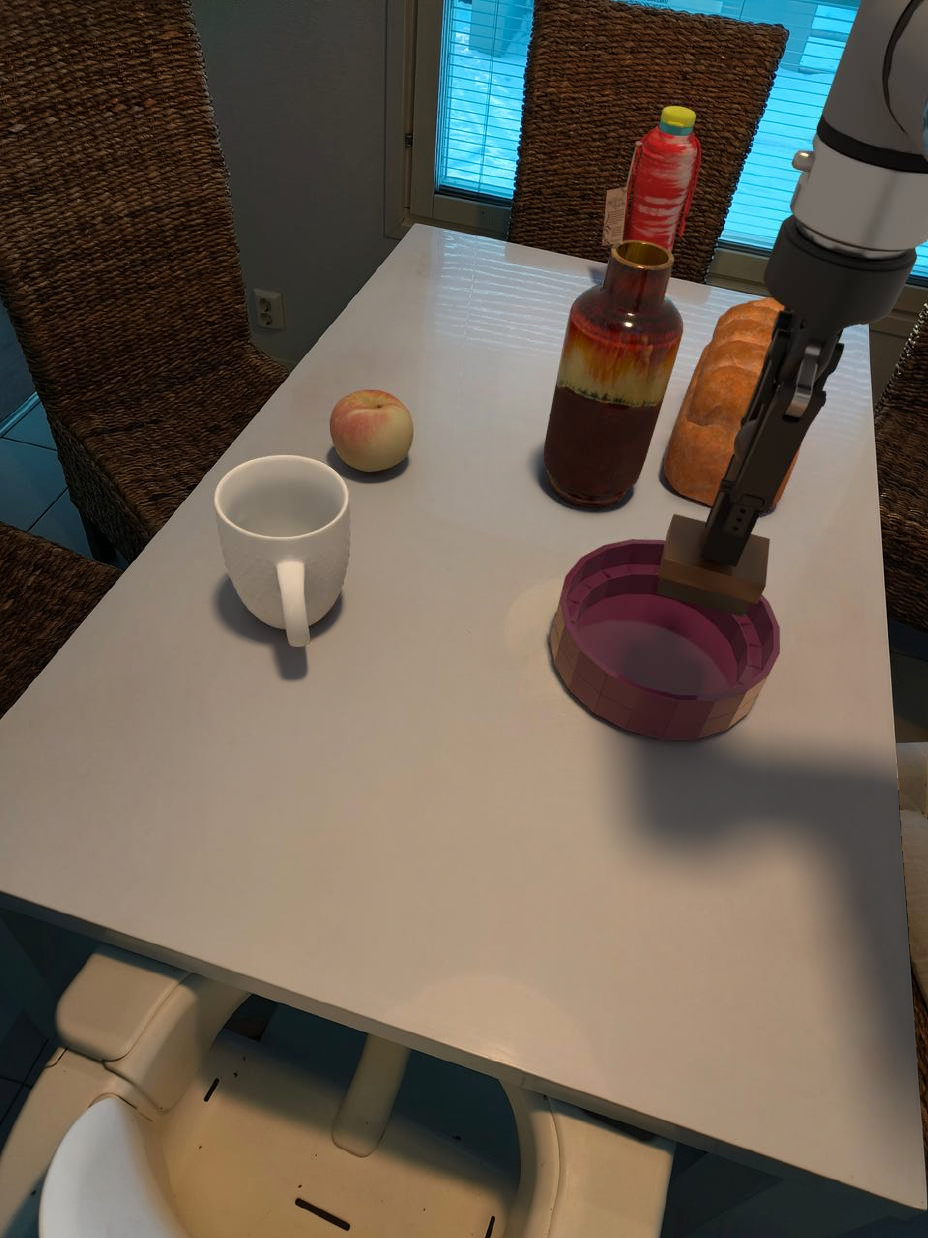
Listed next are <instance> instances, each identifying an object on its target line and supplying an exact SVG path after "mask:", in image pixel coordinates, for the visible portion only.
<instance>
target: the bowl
mask: <svg viewBox="0 0 928 1238" xmlns="http://www.w3.org/2000/svg"><path fill="white" fill-rule="evenodd" d="M664 545H665V540H663V539H644V538H643V539H641V538H640V539H637V538H632V539H631V538H630V539H627V540H622V541H617V542H612V543H608V544H604V545H601V546H599V547H597V548H596V549H594V550H592V551H590V552H589V553H587V554H585V555H583V556H582V557H580V558H579V559H578V561H576V563H575V564H574V565H573V567H571V569H570V570H569V571H568V572H567V574H566V575H565V577H564V581H563V584H562V588H561V592H560V595H559V599H558V605H557V608H556V612H555V615H554V620H553V623H552V624H553V625H552V629H551V632H550V635H549V636H550V637H549V642H550V647H551V653H552V659H553V664H554V667H555V668H556V670H557V673H559V675H560V677H561V679H562V680H563V682H564V683H565V685H566V688H568V690H569V692H570V693H572V694H573V696H574V697H576V698H577V699H578V700H579V701H580V702H581V703H582V704H584V705H585V706H586V707H587V708H588V709H589V710H590V711H591V712H592V713H593V714H595V715H597V716H599V717H601V718H603V719H604V720H606V721H609V722H610V723H612V724H614V725H616V726H618V727H619V728H621V729H623V730H626V731H629V732H632V733H635V734H639V735H644V736H647V737H651V738H655V739H659V740H698V739H702V738H704V737H708V736H712V735H715V734H718V733H722V732H724V731H727V730H728V729H729V728H731V727H733V725H735V724H736V723H737V722H738V721H740V720H741V719H743V717H745V716H746V715H747V714H748V713H749V712H750V710H751V708H752V707H753V705H754V703H755V701H756V700H757V697H758V696H759V693H760V692H761V690H762V689H763V687H764V684H765V683H766V681H767V679H768V677H769V676H770V674H771V671H772V670H773V668H774V665H775V664H776V662H777V660H778V658H779V656H780V655H781V627H780V624H779V623H778V620H777V618H776V615H775V613H774V610H773V608H772V606H771V603H770V602H769V600H767V598H766V597H765V596H764V594H762V595H761V597H760V599H759V601H758V603H757V604H754V603H751V602H750V604H749V606H748V608H747V610H746V612H745V614H744V616H743V617H741V616H737V615H733V614H730V613H726V612H722V611H719V610H715V609H712V608H708V607H704V606H701V605H697V604H693V603H690V602H686V601H683V600H679V599H675V598H672V597H668V596H665V595H661V594H657V589H658V584H659V580H660V578H659V577H658V572H659V567H660V563H661V558H662V554H663V549H664Z"/></svg>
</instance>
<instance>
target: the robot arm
mask: <svg viewBox="0 0 928 1238" xmlns="http://www.w3.org/2000/svg"><path fill="white" fill-rule="evenodd" d="M815 130H816V131H815V134H814V136H813V138H812V139H811V140H812V150H809V149H808V150H805V149H804V150H802V149H798V150H797V151H796V152H795V153H794V155H793V158H792V161H791V162H790V163H791V166H792V168H793V169H794V170H796V171H799V172H801V173H800V175H799V176H798V180H797V183H796V185H795V188H794V191H793V194H792V196H791V200H790V204H789V209H790V211H791V214H790V215H789V216H788V217H786V218H785V219H783V221H782V222H781V224H780V227H779V230H778V232H777V235H776V238H775V240H774V244H773V246H772V249H771V251H770V255H769V257H768V260H767V264H766V266H765V269H764V271H763V284H764V286H765V289H766V291H767V292H768V294H769V295H770V296H771V298H774V299H775V300H776V301H777V302H779V303H780V304H781V305H783V306H784V309H783V310H779V312H778V315H777V317H776V320H775V322H774V325H773V331H772V337H771V339H772V340H771V342H770V345H769V347H768V350H767V352H766V355H765V357H764V362H763V367H762V370H761V373H760V375H759V378H758V381H757V383H756V386H755V389H754V391H753V394H752V396H751V399H750V402H749V404H748V407H747V410H746V412H745V415H744V417H742V419H741V422H740V424H741V425H740V426H741V428H742V427H743V426H744V425H745V424H746V423H748V422H750V421H752V420H755V419H756V422H755V424H754V427H753V429H752V432H751V435H750V437H749V440H748V443H747V445H746V448H745V450H744V453H743V456H742V458H741V461H740V464H739V466H738V469H737V471H736V474H735V477H734V479H733V481H729V480H725V479H726V476H727V474H728V471H729V469H730V466H731V464H732V461H733V458H734V456H735V454H733V455H732V457H731V460H730V462H729V465H728V467H727V470H726V472H725V475H724V477H723V479H721V482H720V486H719V490H718V493H717V495H716V498H715V500H714V503H713V505H712V506H711V508H710V510H709V513H708V516H707V518H706V521H705V522H706V525H705V528H706V527H707V524H708V522H709V519H710V517H711V514H712V512H713V509H714V506H715V504H716V501H717V499H718V496H719V494H720V492H723V493H724V494H723V497H722V499H721V502H720V504H719V507H718V509H717V512H716V514H715V517H714V519H713V522H712V524H711V527H710V529H709V532H708V534H707V537H706V539H705V542H704V544H703V547H702V549H701V554H700V557H702V558H705V559H709V560H713V561H717V562H720V563H724V564H728V565H732V566H735V567H736V566H737V564H738V562H739V559H740V557H741V555H742V553H743V550H744V548H745V546H746V544H747V542H748V539H749V537H750V535H751V534H753V533H752V532H753V530H754V528H755V526H756V524H757V521H758V520H759V517H760V515H761V512H766V513H768V512H769V511H770V509H771V508H773V507H772V505H773V502H774V499H775V497H776V495H777V492H778V490H779V488H780V486H781V484H782V482H783V480H784V478H785V476H786V474H787V472H788V470H789V468H790V466H791V464H792V462H793V460H794V458H795V456H796V454H797V452H798V450H799V447H800V445H801V446H802V443H803V441H804V439H805V437H806V435H807V433H808V432H809V429H810V427H811V425H812V424H813V422H814V421H815V419H816V418H817V416H818V414H819V413H820V411H821V410H822V408H824V407H825V405H826V403H827V396H828V395H827V394H828V393H827V391H826V390H824V387H825V385H826V383H827V380H828V379H829V377H830V376H831V375H832V374H833V373H835V372H836V370H837V368H838V365H839V363H840V360H841V359H842V356H843V354H844V350H845V343H843V342H840V340H841V339H842V335H843V332H844V330H845V329H846V328H849V327H853V326H859V325H861V326H866V325H870V324H874V323H876V322H879V321H881V320H883V319H885V318H886V317H888V316H889V314H890V313H891V312H892V311H893V309H894V308H895V305H896V304H897V302H898V299H899V297H900V295H901V294H902V291H903V289H904V287H905V285H906V282H907V280H908V279H909V276H910V274H911V272H912V271H913V268H914V267H915V264H916V263H917V260H918V253H917V250H916V248H917V247H919V246H921V245H923V244H924V243H927V242H928V0H860V3H859V5H858V8H857V10H856V14H855V17H854V19H853V22H852V25H851V28H850V30H849V34H848V37H847V40H846V43H845V44H844V47H843V51H842V53H841V57H840V59H839V62H838V65H837V68H836V71H835V73H834V77H833V80H832V82H831V85H830V88H829V91H828V93H827V96H826V99H825V102H824V105H823V107H822V111H821V115H820V116H819V120H818V122H817V125H816V129H815ZM800 448H801V447H800ZM799 451H800V450H799ZM770 507H771V508H770ZM761 510H762V511H761Z"/></svg>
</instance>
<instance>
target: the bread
mask: <svg viewBox="0 0 928 1238" xmlns="http://www.w3.org/2000/svg"><path fill="white" fill-rule="evenodd" d="M783 309H784V306H783V305H781V304H780V303H779V302H777V301H776V300H775V299H774V298H773V297H770V296H767V297H764V298H760V299H753V300H749V301H747V302H743V303H742V302H741V303H739V304H736V305H734V306H731V307H729V308H728V309H727V310H726V311H725V312H724V313H722V315H720V316H719V317H718V319H717V321H716V325H715V327H714V330H713V333H712V336H711V337H712V339H711V341H709V342H708V344H706V345H705V346H704V348H703V349H702V352H701V354H700V356H699V359H698V361H697V364H696V366H695V367H694V369H693V373H692V376H691V377H690V378H691V379H690V381H689V384H688V387H687V389H686V393H685V395H684V399H683V402H682V404H681V407H680V409H679V411H678V415H677V417H676V420H675V422H674V425H673V428H672V430H671V434H670V437H669V441H668V445H667V449H666V453H665V456H664V460H663V470H664V476H665V477H666V478H667V480H668V482H669V484H670V485H671V487H672V489H674V490H675V491H676V492H677V493H678V494H680V495H681V496H684V497H687V498H690V499H692V500H695V501H697V502H700V503H702V504H705V505H707V506H710V507H712V505H713V503H714V500H715V498H716V495H717V493H718V490H719V486H720V482H721V479H723V477H724V475H725V472H726V470H727V467H728V465H729V462H730V460H731V457H732V455H733V454H735V453H734V441H735V437H736V435H737V433H738V432H739V430H740V429H741V426H740V425H741V424H740V422H741V419H742V417H744V415H745V412H746V410H747V407H748V404H749V402H750V399H751V396H752V394H753V391H754V389H755V386H756V383H757V381H758V378H759V375H760V373H761V370H762V367H763V362H764V357H765V355H766V352H767V350H768V347H769V345H770V342H771V340H772V339H771V337H772V331H773V325H774V322H775V320H776V317H777V315H778V312H779V310H783ZM801 446H802V444H801V445H800V447H799V450H798V452H797V454H796V456H795V458H794V460H793V462H792V464H791V466H790V468H789V470H788V472H787V474H786V476H785V478H784V480H783V482H782V484H781V486H780V488H779V490H778V492H777V495H776V497H775V499H774V502H773V505H772V507H770V509H772V508H773V507H775V506H776V505H777V504H778V503H779V502H780V500H782V496H783V494H784V491H785V489H786V487H787V485H788V482H789V480H790V478H791V476H792V473H793V470H794V468H795V466H796V463H797V460H798V457H799V454H800V450H801ZM761 512H763V511H762V510H761Z"/></svg>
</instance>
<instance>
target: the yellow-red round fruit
mask: <svg viewBox="0 0 928 1238" xmlns="http://www.w3.org/2000/svg"><path fill="white" fill-rule="evenodd" d="M329 417H330V418H329V434H330V438H331V442H332V444H333V446H334V448H335V451H336V452H337V454H338V456H339V458H340V459H341V460H342V461H343V462H344V463H345V464H346V465H348V466H349V467H351V468H353V469H355V470H358V471H361V472H367V473H372V472H379V471H384V470H387V469H391V468H392V467H394V466H396V465H398V464H400V463H401V462H402V461H403V460H404V459H405V458H406V456H407V455H408V454H409V451H410V450H411V448H412V444H413V441H414V422H413V418H412V415H411V412H410V410H409V409H408V407H407V406H406V405H405V404H404V403H403V401H401V400H400V398H398V397H397V396H395V395H394V394H393V393H390V392H387V391H384V390H382V389H381V390H380V389H362V390H360V389H359V390H357V391H354V392H351V393H349V394H347V395H345V396H343V397H342V398H341V399H339V400H338V401H337V402H336V404H335V405H334V407H333V409H332V411H331V414H330V416H329Z"/></svg>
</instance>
